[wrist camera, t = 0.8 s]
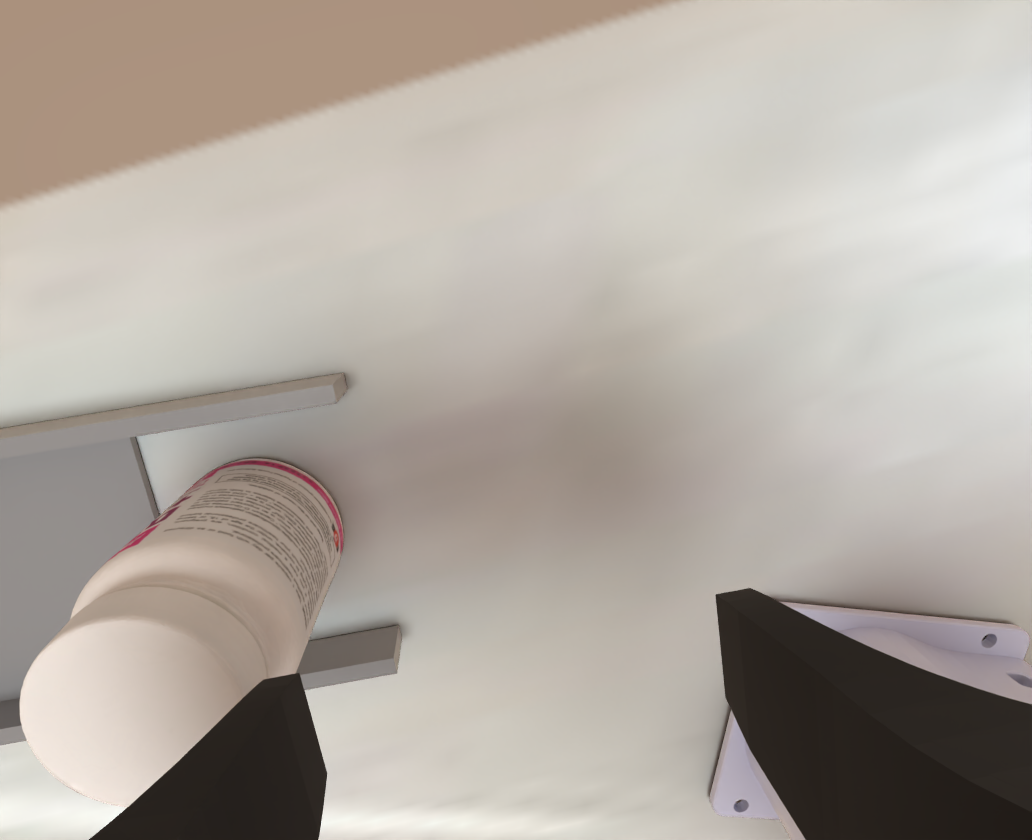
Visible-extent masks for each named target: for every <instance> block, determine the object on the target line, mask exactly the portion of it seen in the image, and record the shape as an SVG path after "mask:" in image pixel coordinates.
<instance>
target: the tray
mask: <svg viewBox="0 0 1032 840" xmlns="http://www.w3.org/2000/svg"><path fill="white" fill-rule="evenodd" d="M347 390H348V389H347V385H346V380H345V376H344V373H338V374H332V375H326V376H319V377H313V378H307V379H301V380H295V381H289V382H283V383H277V384H270V385H264V386H258V387H252V388H246V389H240V390H234V391H227V392H221V393H215V394H209V395H203V396H197V397H191V398H185V399H178V400H172V401H166V402H160V403H154V404H148V405H142V406H136V407H129V408H123V409H117V410H111V411H105V412H99V413H93V414H87V415H80V416H74V417H68V418H62V419H56V420H50V421H44V422H37V423H31V424H25V425H19V426H13V427H7V428H1V429H0V745H5V744H10V743H16V742H21V741H27V740H26V737H25V735H24V732H23V729H22V725H21V721H20V696H21V694H20V693H21V689H22V686H23V681H24V679H25V677H26V675H27V672H28V670H29V668H30V666H31V665H32V663H33V662H34V660H35V659H36V657H37V656H38V654H39V653H40V652H41V651H42V650H43V649H44V648H45V646H46V645H47V644H48V643H49V642H50V641H51V640H52V639H53V638H54V637H55V636H56V635H57V634H58V633H59V632H60V631H61V629H62V628H63V627H64V626H65V625H66V624H67V623H68V622H69V620H70V618H71V614H72V611H73V608H74V606H75V603H76V601H77V599H78V597H79V595H80V593H81V591H82V590H83V588H84V587H85V585H86V584H87V583H88V581H89V580H90V579H91V578H92V576H93V575H94V574H95V573H96V572H97V571H98V570H99V569H100V568H101V567H102V566H103V565H104V564H105V563H106V562H107V561H108V560H109V559H110V558H112V557H113V556H114V555H115V554H116V553H118V552H119V551H120V550H121V549H122V548H123V547H124V546H125V545H127V544H128V543H129V542H130V541H131V540H132V539H133V538H134V537H136V536H137V535H138V534H139V533H140V532H141V531H142V530H144V529H145V528H146V527H147V526H148V525H149V524H151V522H152V521H154V520H155V519H156V518H157V517H159V514H158V511H157V507H156V504H155V501H154V498H153V494H152V491H151V488H150V484H149V481H148V478H147V474H146V471H145V468H144V465H143V461H142V458H141V455H140V451H139V448H138V445H137V441H136V438H135V437H136V436H142V435H148V434H154V433H160V432H166V431H172V430H178V429H184V428H190V427H196V426H202V425H208V424H214V423H220V422H226V421H233V420H239V419H245V418H251V417H257V416H263V415H269V414H275V413H281V412H287V411H293V410H299V409H305V408H311V407H317V406H324V405H330V404H336V403H337V402H338V401H339V400H340V399H341V397H342V396H343V395H344V393H345V392H346V391H347ZM401 642H402V637H401V632H400V628H399V625H397V626H391V627H386V628H380V629H374V630H369V631H363V632H358V633H352V634H346V635H341V636H335V637H330V638H324V639H319V640H313V641H308V643H307V645H306V648H305V651H304V653H303V656H302V658H301V661H300V664H299V666H298V669H297V671H296V673H300V677H301V680H302V684H303V688H304V690H308V689H313V688H319V687H324V686H330V685H335V684H341V683H346V682H352V681H357V680H363V679H368V678H374V677H379V676H385V675H390V674H396V673H397V670H398V663H399V656H400V649H401Z"/></svg>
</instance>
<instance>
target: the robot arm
mask: <svg viewBox="0 0 1032 840" xmlns="http://www.w3.org/2000/svg"><path fill="white" fill-rule="evenodd" d="M716 604H717V614H718V624H719V634H720V645H721V655H722V665H723V675H724V686H725V696H726V699H727V701H728V703H729V706H730V708H731V712H730V716H729V720H728V724H727V728H726V732H725V736H724V740H723V745H722V749H721V753H720V757H719V761H718V765H717V769H716V773H715V777H714V781H713V785H712V789H711V793H710V803H711V805H712V808H713V810H714V812H715V813H717V814H718V815H721V816H729V817H746V818H762V819H779V820H780V821H781V822H782V824H783V826H784V828H785V830H786V831H787V833H788V835H789V837H790V838H791V840H1032V666H1031V665H1030V664H1028V663H1027V662H1025V661H1024V658H1025V655H1026V652H1027V649H1028V646H1029V642H1030V637H1029V634H1028V633H1027V632H1026V631H1025V630H1023V629H1022V628H1020V627H1019V626H1017V625H1014V624H1004V623H994V622H984V621H973V620H963V619H953V618H943V617H932V616H922V615H912V614H902V613H891V612H881V611H871V610H861V609H850V608H840V607H830V606H820V605H809V604H799V603H789V602H779V601H776V600H774V599H772V598H770V597H768V596H766V595H764V594H762V593H760V592H758V591H756V590H753V589H751V588H748V589H743V590H738V591H732V592H727V593H722V594H716ZM987 634H988V636H987V637H986V639H984V640H983V641H982V639H983V638H984V636H986V635H987ZM326 780H327V771H326V768H325V764H324V761H323V757H322V753H321V750H320V746H319V742H318V739H317V735H316V731H315V728H314V724H313V720H312V717H311V713H310V709H309V706H308V702H307V699H306V695H305V691H304V688H303V684H302V680H301V677H300V673H295V674H290V675H285V676H279V677H274V678H269V679H264V680H262V681H261V682H260V683H259V684H258V685H256V686H255V687H254V688H253V689H252V690H251V691H250V692H249V693H248V694H247V695H246V696H244V697H243V698H242V699H241V700H240V701H239V702H238V703H237V704H236V705H235V706H234V707H233V708H232V709H231V710H230V711H229V712H228V713H227V714H226V715H225V716H224V717H223V718H222V719H221V720H220V721H219V722H218V723H217V724H216V725H215V726H214V727H213V728H212V729H211V730H210V731H209V732H208V733H207V734H206V735H205V736H204V737H203V738H202V739H201V740H200V741H199V742H198V743H197V744H196V745H195V746H193V747H192V748H191V749H190V750H189V751H188V752H187V753H186V754H185V755H184V756H183V757H182V758H181V759H180V760H179V761H178V762H177V763H176V764H175V765H174V766H173V767H172V768H170V769H169V770H168V771H167V772H166V773H165V774H164V775H163V776H162V777H161V778H159V779H158V780H157V781H156V782H155V783H154V784H153V785H152V786H151V787H150V788H148V789H147V790H146V791H145V792H144V793H143V794H142V795H141V796H140V797H138V798H137V799H136V800H135V801H134V802H133V803H132V804H131V805H130V806H129V807H127V808H126V809H125V810H124V811H123V812H122V813H121V814H119V815H118V816H117V817H116V818H115V819H114V820H112V821H111V822H110V823H109V824H108V825H106V826H105V827H104V828H103V829H101V830H100V831H99V832H98V833H97V834H95V835H94V836H93V837H92V838H90V839H89V840H318V838H319V833H320V826H321V819H322V812H323V805H324V797H325V788H326ZM742 799H743V800H742ZM738 800H742V801H741V802H739V803H735V802H737V801H738Z"/></svg>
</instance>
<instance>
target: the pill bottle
mask: <svg viewBox="0 0 1032 840" xmlns="http://www.w3.org/2000/svg"><path fill="white" fill-rule="evenodd" d="M343 540H344V535H343V525H342V521H341V517H340V514H339V511H338V509H337V506H336V504H335V502H334V500H333V499H332V497H331V496H330V494H329V493H328V492H327V491H326V489H325V488H324V487H323V486H322V485H321V484H320V483H319V482H318V481H316V480H315V479H314V478H313V477H311V476H310V475H308V474H307V473H305V472H304V471H302V470H300V469H298V468H296V467H294V466H291V465H289V464H286V463H283V462H279V461H276V460H270V459H261V458H252V459H243V460H238V461H234V462H231V463H228V464H225V465H222V466H220V467H218V468H216V469H214V470H212V471H211V472H209V473H208V474H206V475H205V476H204V477H202V478H201V479H200V480H199V481H197V482H196V483H195V484H194V485H193V486H192V487H191V488H190V489H189V490H188V491H186V492H185V493H184V494H183V495H182V496H181V497H180V498H179V499H178V500H177V501H175V502H174V503H173V504H172V505H171V506H170V507H169V508H167V509H166V510H165V511H164V512H163V513H162V514H161V515H160V516H159V517H157V518H156V519H155V520H154V521H152V522H151V524H149V525H148V526H147V527H146V528H145V529H144V530H142V531H141V532H140V533H139V534H138V535H137V536H136V537H134V538H133V539H132V540H131V541H130V542H129V543H128V544H127V545H125V546H124V547H123V548H122V549H121V550H120V551H119V552H118V553H116V554H115V555H114V556H113V557H112V558H110V559H109V560H108V561H107V562H106V563H105V564H104V565H103V566H102V567H101V568H100V569H99V570H98V571H97V572H96V573H95V574H94V575H93V576H92V578H91V579H90V580H89V581H88V583H87V584H86V585H85V587H84V588H83V590H82V591H81V593H80V595H79V597H78V599H77V601H76V603H75V606H74V608H73V611H72V614H71V618H70V620H69V622H68V623H67V624H66V625H65V626H64V627H63V628H62V629H61V631H60V632H59V633H58V634H57V635H56V636H55V637H54V638H53V639H52V640H51V641H50V642H49V643H48V644H47V645H46V646H45V648H44V649H43V650H42V651H41V652H40V653H39V654H38V656H37V657H36V659H35V660H34V662H33V663H32V665H31V666H30V668H29V670H28V672H27V675H26V677H25V679H24V681H23V686H22V689H21V693H20V694H21V696H20V721H21V725H22V729H23V732H24V735H25V737H26V740H27V742H28V744H29V746H30V748H31V750H32V751H33V753H34V755H35V756H36V757H37V759H38V760H39V761H40V762H41V763H42V765H43V766H44V767H45V768H46V769H47V770H48V771H49V772H50V773H51V774H52V775H53V776H54V777H55V778H56V779H58V780H59V781H60V782H62V783H63V784H64V785H66V786H67V787H69V788H71V789H72V790H74V791H76V792H77V793H80V794H82V795H84V796H86V797H89V798H92V799H94V800H97V801H101V802H103V803H106V804H111V805H116V806H123V807H129V806H130V805H131V804H132V803H133V802H134V801H135V800H136V799H137V798H138V797H140V796H141V795H142V794H143V793H144V792H145V791H146V790H147V789H148V788H150V787H151V786H152V785H153V784H154V783H155V782H156V781H157V780H158V779H159V778H161V777H162V776H163V775H164V774H165V773H166V772H167V771H168V770H169V769H170V768H172V767H173V766H174V765H175V764H176V763H177V762H178V761H179V760H180V759H181V758H182V757H183V756H184V755H185V754H186V753H187V752H188V751H189V750H190V749H191V748H192V747H193V746H195V745H196V744H197V743H198V742H199V741H200V740H201V739H202V738H203V737H204V736H205V735H206V734H207V733H208V732H209V731H210V730H211V729H212V728H213V727H214V726H215V725H216V724H217V723H218V722H219V721H220V720H221V719H222V718H223V717H224V716H225V715H226V714H227V713H228V712H229V711H230V710H231V709H232V708H233V707H234V706H235V705H236V704H237V703H238V702H239V701H240V700H241V699H242V698H243V697H244V696H246V695H247V694H248V693H249V692H250V691H251V690H252V689H253V688H254V687H255V686H256V685H258V684H259V683H260V682H261V681H262V680H264V679H269V678H274V677H279V676H285V675H290V674H295V673H296V671H297V669H298V666H299V664H300V661H301V658H302V656H303V653H304V651H305V648H306V645H307V643H308V640H309V638H310V635H311V632H312V630H313V627H314V624H315V622H316V619H317V617H318V614H319V611H320V609H321V606H322V604H323V601H324V598H325V596H326V593H327V591H328V589H329V586H330V584H331V581H332V579H333V577H334V575H335V573H336V569H337V567H338V564H339V561H340V558H341V554H342V550H343Z"/></svg>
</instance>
